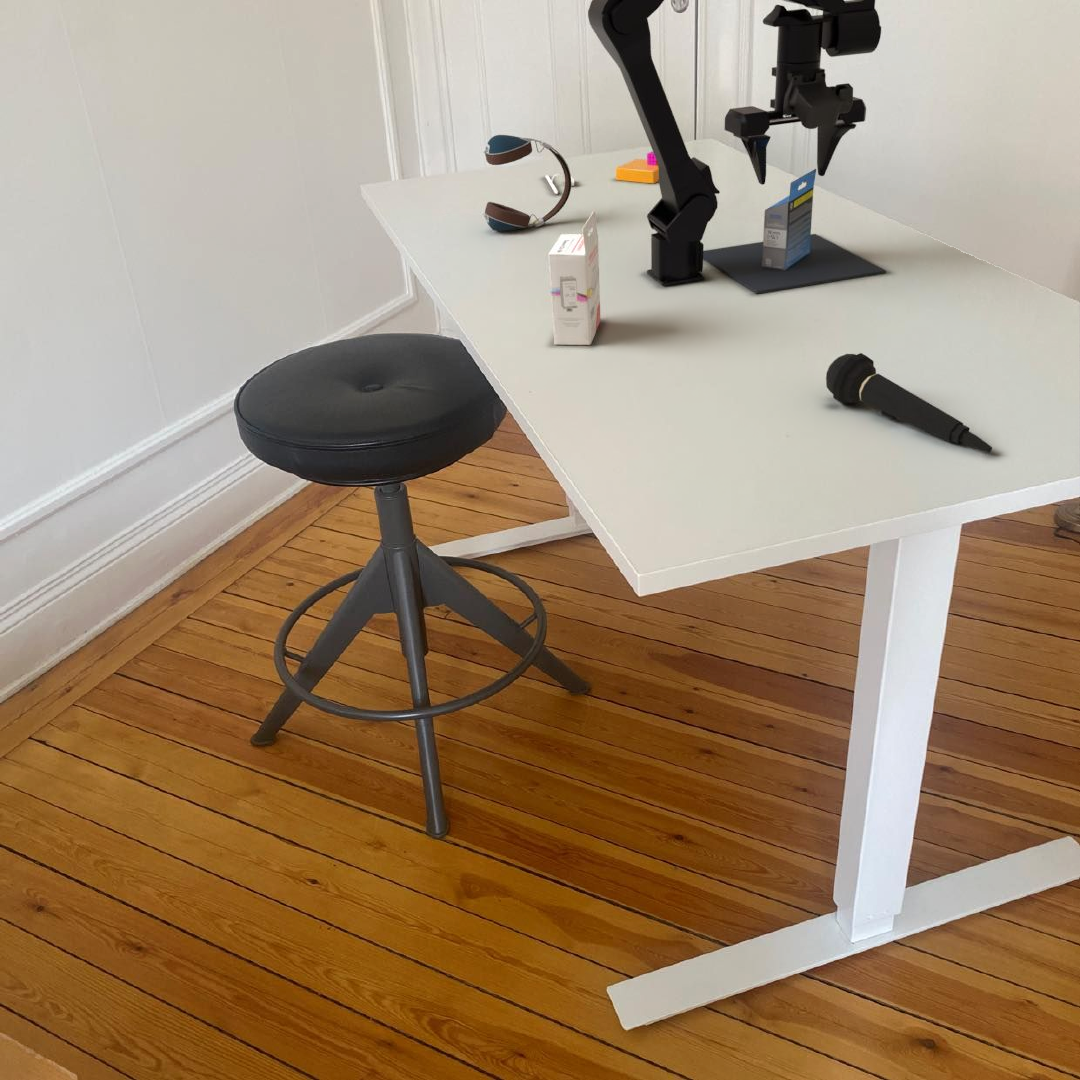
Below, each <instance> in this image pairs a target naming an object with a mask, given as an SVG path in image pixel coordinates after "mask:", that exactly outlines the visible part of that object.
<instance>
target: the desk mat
mask: <svg viewBox="0 0 1080 1080" xmlns="http://www.w3.org/2000/svg"><path fill="white" fill-rule="evenodd" d="M762 257H763V241H760V242H753V243H747V244H740V245H735V246H734V245H733V246H725V247H720V248H713V249H706V250H703V261H706V262H707V263H709V264H710V265H712V266H713V267H715V268H716V269H717V270H719V271H721V272H722V273H724V274H725V275H727V276H728V277H730V278H731V279H733V280H734V281H736V282H737V283H739V284H741V285H742V286H743V287H745V288H746V289H748V290H749V291H751V292H753V293H754V294H755V295H759V294H765V293H771V292H778V291H784V290H790V289H795V288H801V287H809V286H814V285H820V284H826V283H833V282H839V281H844V280H850V279H857V278H863V277H870V276H875V275H882V274H886V273H887V270H886V269H884V268H882V267H880V266H879V265H877V264H874V263H873V262H870V261H869V260H866V259H865V258H863V257H861V256H859V255H857V254H855V253H853V252H851V251H849V250H847V249H846V248H844V247H841V246H839V245H838V244H836V243H834V242H832V241H830V240H827V239H826V238H824V237H822V236H820V235H818V234H816V233H813V234H812V233H811V237H810V253H809V254H807V255H806V256H804V257H803V258H801V259H800V260H799V261H797V262H796V263H794V264H793V265H791V266H790V267H789V268H787V269H786V270H777V269H769V268H764V267H762Z"/></svg>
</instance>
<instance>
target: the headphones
mask: <svg viewBox="0 0 1080 1080" xmlns="http://www.w3.org/2000/svg"><path fill="white" fill-rule="evenodd" d="M532 141H533V142H534V143H535V146H536V151H537V153H541V152H542V151H543V150H544V149H547V150H548V151H550V152H551V153H552V154H553V156H554V157H555V158H556V159H557V161H558V163H559V164H560V166H561V168H562V171H563V175H564V177H565V178H564V189H563V193H562V194H561V196H560V198H559V201H557V203H556V205H555V206H554V207H552V209H551V210H550V211H549V212H548V213H547V214H545V215H544V216H543V217H537V216H536V215H535V214H533V213H531V215H529V214H527V213H525V212H523V211H520V210H518V209H515V208H512V207H509V206H506V205H504V204H500V203H497V202H493V201H488V202H487V203H486V205H485V210H484V215H483V217H484V218H485V222H486V223H487V225H488V226H489V228H490V229H491V230H493V231H496V232H510V231H517V230H521V229H525V228H530V227H535V228H538V227H541V226H543V225H545V224H546V222H547V221H549V220H550V219H552V218H554V216H556V215H557V214H558V213H559V212H560V211H561V210H562V209H563V208H564V207H565V205H566V203H567V201H568V199H569V197H570V195H571V190H572V186H571V176H572V174H571V171H570V167H569V164H568V163H567V161H566V160H565V158H564V157H563V156H562V155H561V154H560V152H558V150H556V148H554V147H553V146H552V145H551V144H549V143H547V142H544V141H542V140H538V139H535V138H531V137H530V138H529V137H521V136H515V135H508V134H496V135H494V136H492V137H491V138H489V140H488V141H487V143H486V145H485V148H484V151H483V154H484V155H485V160H486V162H487V163H488V164H489V165H492V166H501V165H505V164H509V163H513V162H516V161H519V160H522V159H524V158H526V157H527V156H530V155H531V154H532V153H533V146H532ZM537 143H538V144H539V145H540V146H541V147H543V148H542V149H541V150H540V151H539V148H538V144H537ZM532 216H534V218H535V220H534V221H533V222H532V224H530V222H531V218H532Z"/></svg>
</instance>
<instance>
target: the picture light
mask: <svg viewBox="0 0 1080 1080" xmlns="http://www.w3.org/2000/svg"><path fill="white" fill-rule="evenodd" d="M557 176H558V173H555V174H554V175H553V176H552V177H550V175H549V174H546V175H545V179H546V181H547V182H548V184H549V185H550V187H551V189H552V190H553V193H554V194H555V195H558V194H559V190H558V188H557V187H556V185H555V184H554V181H553V180H554V179H555V177H557ZM560 176H562V177H563V178H564V179H565V175H564V174H562V173H560ZM573 186H575V179H574V178H573V176H572V175H571V187H573Z"/></svg>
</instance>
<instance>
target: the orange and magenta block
mask: <svg viewBox="0 0 1080 1080" xmlns="http://www.w3.org/2000/svg"><path fill="white" fill-rule="evenodd" d="M615 180H616V181H624V182H631V183H632V182H634V183H643V184H651V185H652V184H655V183H657V182H658V183H659V167H658V162H657V160H656V157H655V155H654V152H653V150H652V151H650V152H647V153H646V159H643V158H634V159H633V160H630V161H629V162H626V163H624V164H622V165H619V166H617V167H615Z"/></svg>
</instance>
